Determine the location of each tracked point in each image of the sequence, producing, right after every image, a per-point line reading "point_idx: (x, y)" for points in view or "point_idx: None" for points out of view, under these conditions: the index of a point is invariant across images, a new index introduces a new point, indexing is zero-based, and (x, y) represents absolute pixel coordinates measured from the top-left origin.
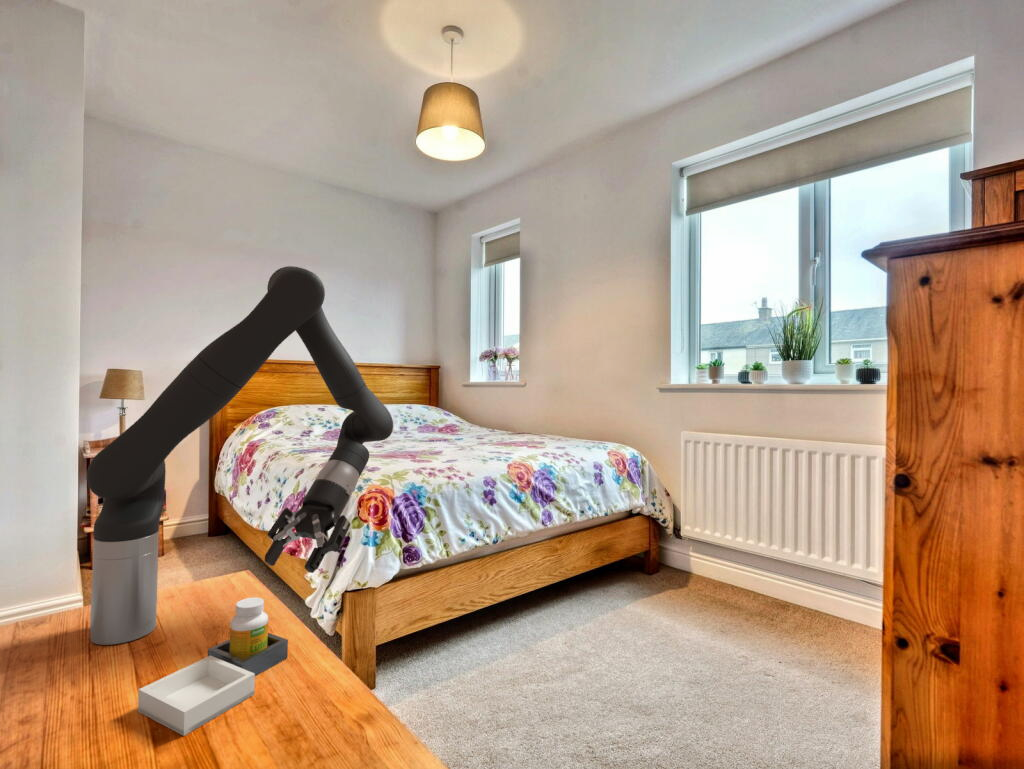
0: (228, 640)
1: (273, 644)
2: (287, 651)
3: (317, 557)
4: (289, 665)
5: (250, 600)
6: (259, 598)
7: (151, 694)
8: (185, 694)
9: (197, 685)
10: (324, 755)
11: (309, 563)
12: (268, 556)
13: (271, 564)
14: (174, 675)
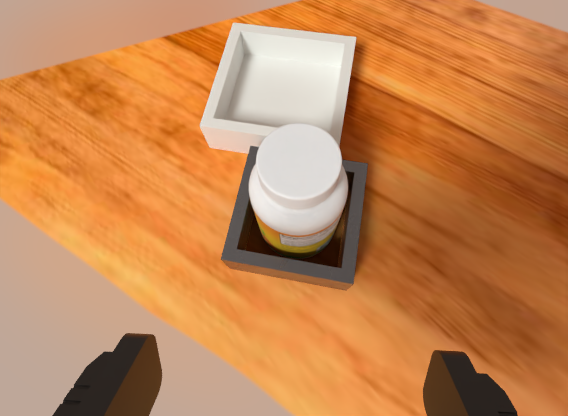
0: (359, 208)
1: (240, 228)
2: (227, 265)
3: (62, 406)
4: (207, 245)
5: (309, 171)
6: (291, 192)
7: (322, 34)
8: (312, 101)
9: (316, 124)
10: (28, 79)
11: (115, 348)
12: (453, 366)
13: (426, 383)
14: (339, 78)
